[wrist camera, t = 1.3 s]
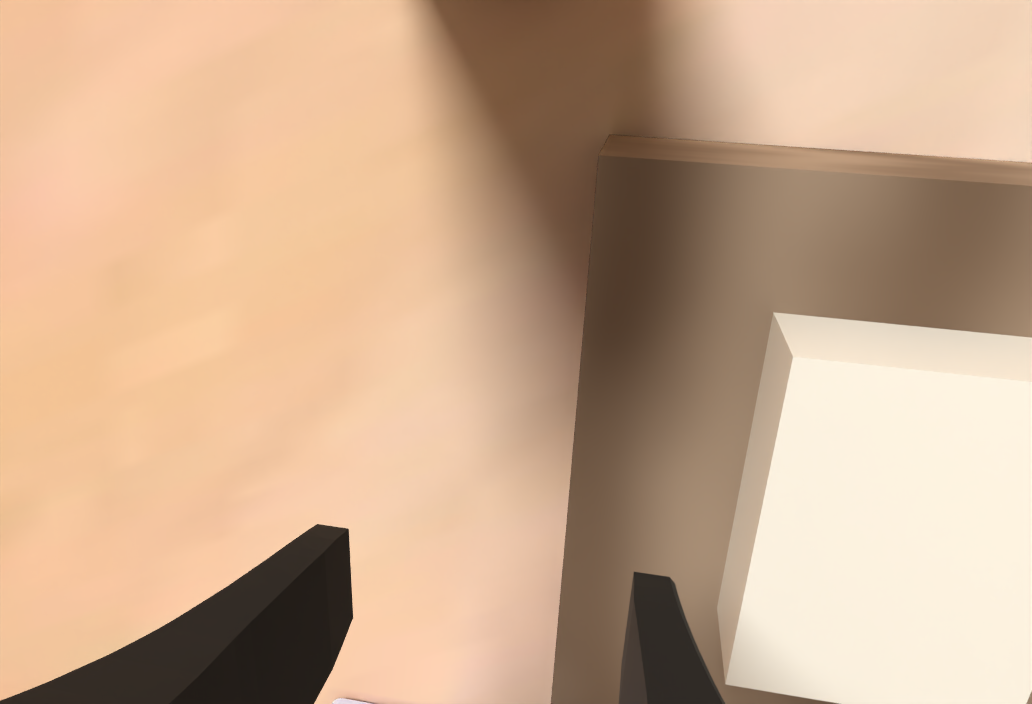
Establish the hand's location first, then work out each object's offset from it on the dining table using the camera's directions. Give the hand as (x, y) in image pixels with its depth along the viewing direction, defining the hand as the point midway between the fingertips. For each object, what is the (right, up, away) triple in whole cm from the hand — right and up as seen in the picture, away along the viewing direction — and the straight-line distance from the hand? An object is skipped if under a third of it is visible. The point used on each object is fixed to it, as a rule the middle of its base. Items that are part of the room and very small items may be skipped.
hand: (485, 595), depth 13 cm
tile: (+9, +1, +3) cm, 9 cm away
